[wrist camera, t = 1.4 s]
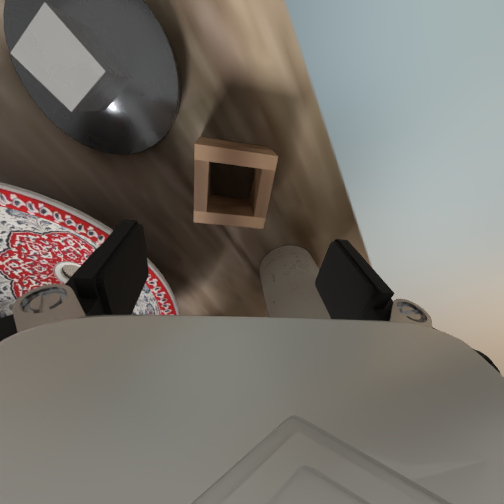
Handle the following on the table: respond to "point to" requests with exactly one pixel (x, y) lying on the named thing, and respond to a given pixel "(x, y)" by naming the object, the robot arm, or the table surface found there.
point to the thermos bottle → (291, 284)
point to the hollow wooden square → (232, 208)
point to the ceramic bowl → (57, 249)
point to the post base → (132, 51)
